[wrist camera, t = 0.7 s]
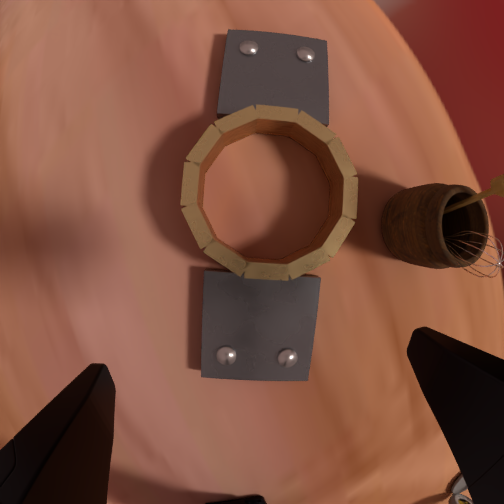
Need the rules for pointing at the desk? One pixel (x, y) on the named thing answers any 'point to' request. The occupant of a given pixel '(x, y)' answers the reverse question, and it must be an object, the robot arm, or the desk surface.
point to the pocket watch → (457, 489)
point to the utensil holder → (440, 225)
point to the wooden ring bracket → (258, 269)
